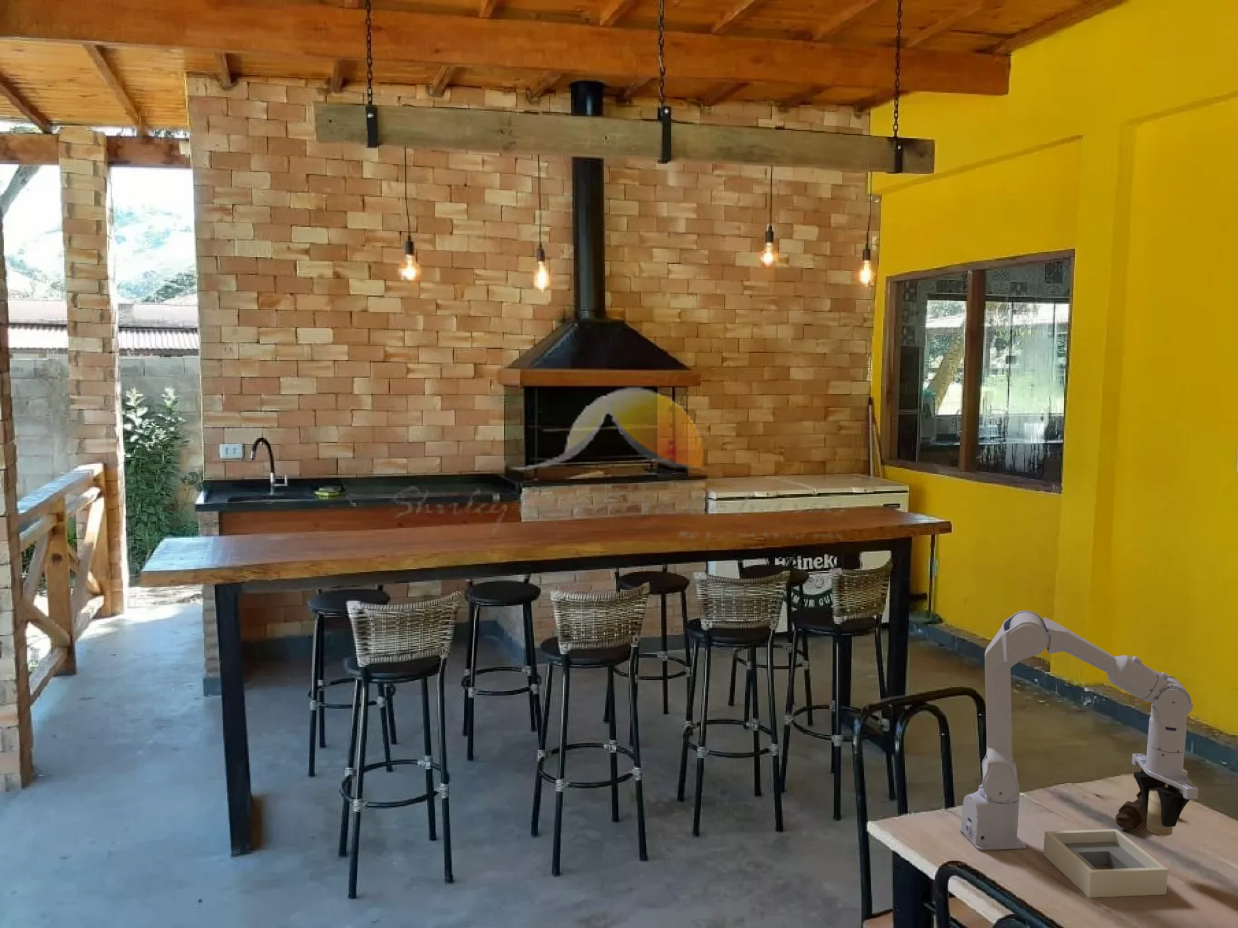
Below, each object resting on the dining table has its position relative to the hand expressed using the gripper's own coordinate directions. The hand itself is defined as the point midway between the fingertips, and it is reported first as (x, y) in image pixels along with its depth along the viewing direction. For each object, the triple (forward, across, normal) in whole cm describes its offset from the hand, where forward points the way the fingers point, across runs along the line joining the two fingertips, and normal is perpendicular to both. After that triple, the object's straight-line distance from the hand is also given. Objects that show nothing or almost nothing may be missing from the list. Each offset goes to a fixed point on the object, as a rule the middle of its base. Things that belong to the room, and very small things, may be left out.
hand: (1160, 819), depth 165 cm
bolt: (+10, +18, -9) cm, 22 cm away
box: (+9, -1, +11) cm, 14 cm away
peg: (+2, 0, 0) cm, 2 cm away
